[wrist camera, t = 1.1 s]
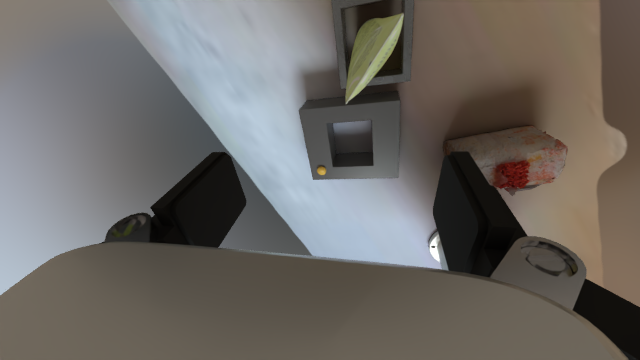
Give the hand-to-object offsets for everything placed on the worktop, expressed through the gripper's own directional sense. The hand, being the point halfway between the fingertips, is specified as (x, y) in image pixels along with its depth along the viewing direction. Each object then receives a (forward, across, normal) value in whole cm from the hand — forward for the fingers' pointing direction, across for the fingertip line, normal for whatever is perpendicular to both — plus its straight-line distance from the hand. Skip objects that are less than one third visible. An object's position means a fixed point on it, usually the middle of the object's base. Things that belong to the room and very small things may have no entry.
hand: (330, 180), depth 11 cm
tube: (+32, -2, -2) cm, 32 cm away
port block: (+32, +2, +12) cm, 34 cm away
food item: (+32, -21, +15) cm, 41 cm away
